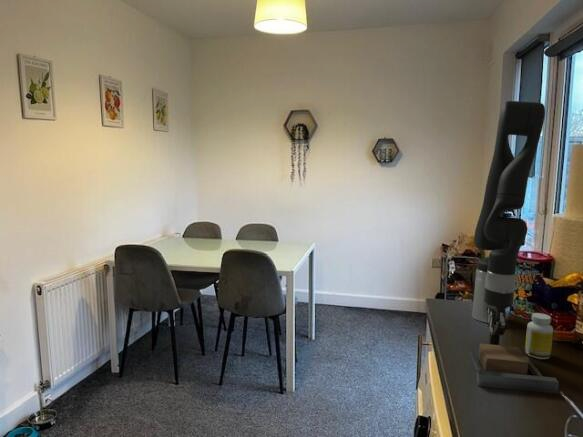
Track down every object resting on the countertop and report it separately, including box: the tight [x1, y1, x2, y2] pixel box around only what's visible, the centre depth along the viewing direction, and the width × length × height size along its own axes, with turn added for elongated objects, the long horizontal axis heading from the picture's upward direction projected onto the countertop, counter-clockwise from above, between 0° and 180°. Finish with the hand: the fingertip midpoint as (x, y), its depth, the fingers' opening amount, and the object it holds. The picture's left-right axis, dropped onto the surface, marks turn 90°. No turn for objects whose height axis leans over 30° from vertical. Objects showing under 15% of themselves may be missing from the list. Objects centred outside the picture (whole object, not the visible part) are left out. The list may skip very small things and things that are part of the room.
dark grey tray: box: [469, 351, 560, 394], centre depth 114 cm, size 16×18×3 cm
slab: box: [477, 342, 529, 375], centre depth 118 cm, size 9×10×4 cm
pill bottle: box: [524, 312, 554, 360], centre depth 124 cm, size 6×6×12 cm
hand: (493, 345), depth 126 cm, fingers closed
